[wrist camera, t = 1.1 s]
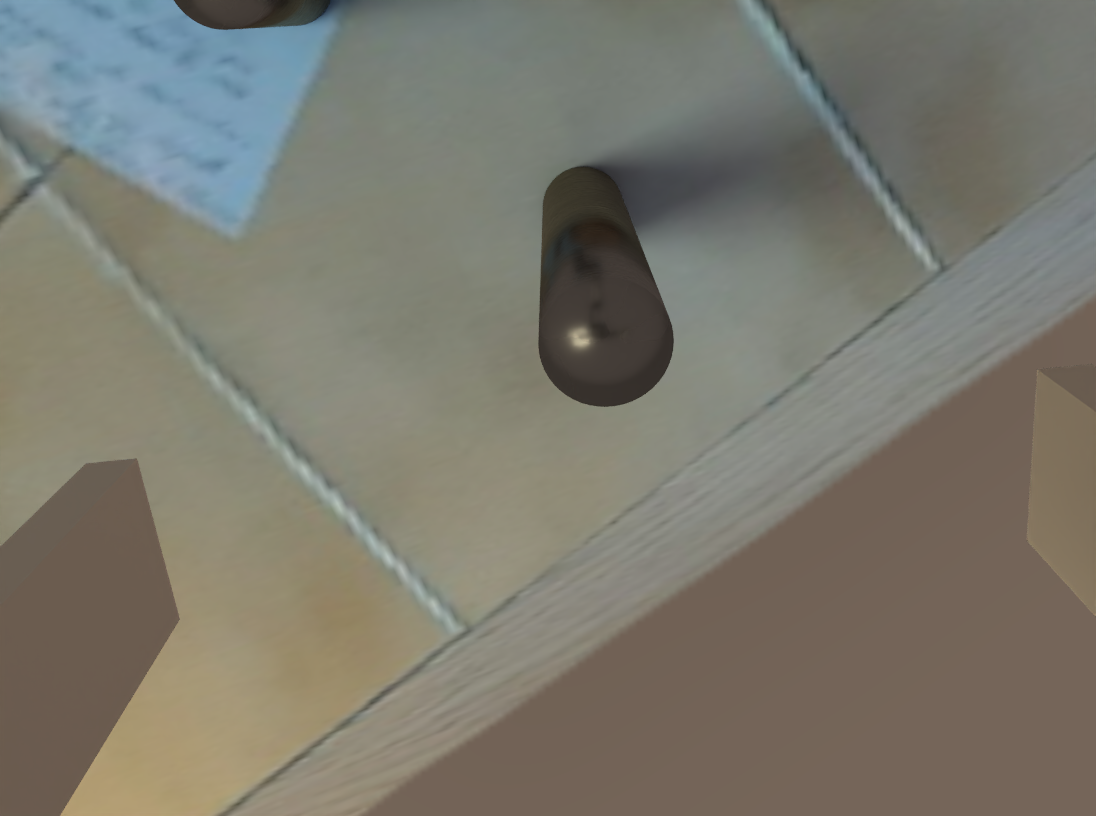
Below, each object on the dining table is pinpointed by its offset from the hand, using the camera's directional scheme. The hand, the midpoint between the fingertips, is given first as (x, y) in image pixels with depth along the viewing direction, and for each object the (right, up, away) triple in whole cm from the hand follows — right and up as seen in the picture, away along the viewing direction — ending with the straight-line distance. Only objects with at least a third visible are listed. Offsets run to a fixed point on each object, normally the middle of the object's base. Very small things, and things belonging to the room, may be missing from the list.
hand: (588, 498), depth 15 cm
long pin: (+1, +8, +21) cm, 23 cm away
